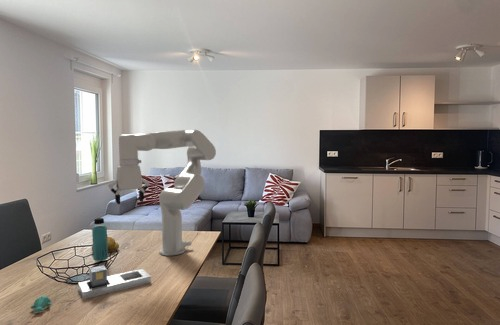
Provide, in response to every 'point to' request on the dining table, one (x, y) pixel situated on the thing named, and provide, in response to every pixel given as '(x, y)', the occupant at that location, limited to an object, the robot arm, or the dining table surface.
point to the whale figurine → (41, 304)
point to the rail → (115, 283)
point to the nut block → (98, 276)
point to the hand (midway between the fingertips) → (130, 202)
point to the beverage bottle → (100, 240)
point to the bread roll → (111, 245)
